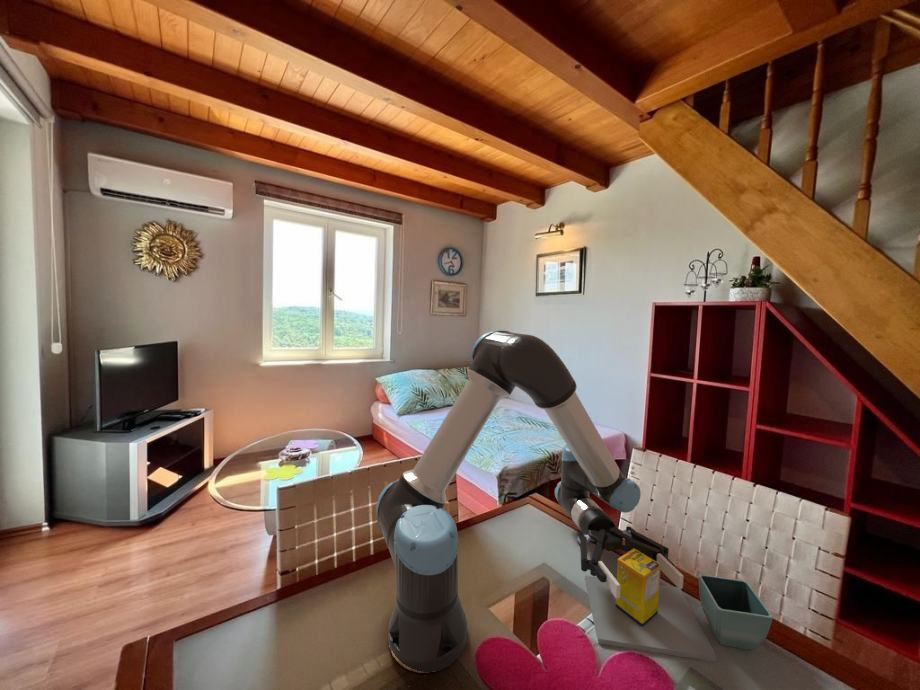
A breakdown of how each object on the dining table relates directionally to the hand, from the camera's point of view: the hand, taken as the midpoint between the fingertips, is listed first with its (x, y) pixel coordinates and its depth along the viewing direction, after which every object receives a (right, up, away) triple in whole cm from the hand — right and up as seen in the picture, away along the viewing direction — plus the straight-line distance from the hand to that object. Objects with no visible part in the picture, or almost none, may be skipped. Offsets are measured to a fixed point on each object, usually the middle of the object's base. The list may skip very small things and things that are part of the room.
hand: (650, 587), depth 70 cm
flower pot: (+15, -9, 0) cm, 18 cm away
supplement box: (-1, -8, +4) cm, 9 cm away
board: (0, -9, +4) cm, 10 cm away
